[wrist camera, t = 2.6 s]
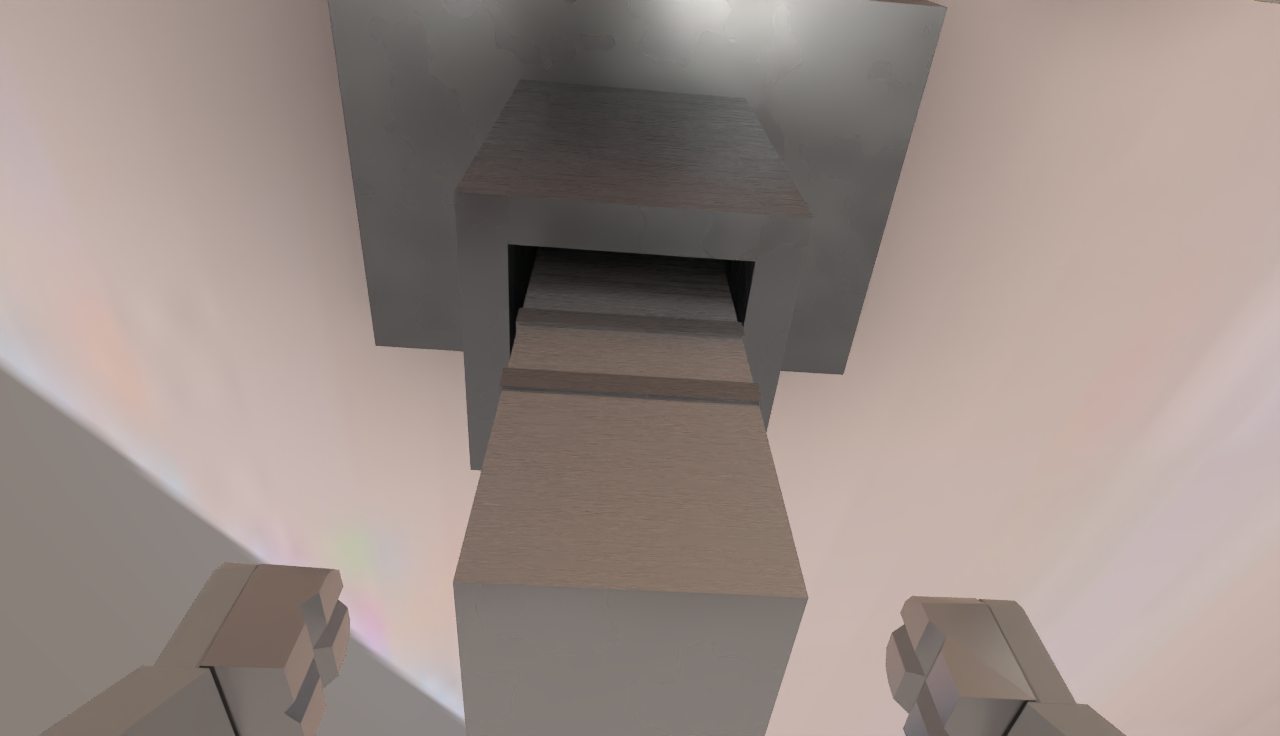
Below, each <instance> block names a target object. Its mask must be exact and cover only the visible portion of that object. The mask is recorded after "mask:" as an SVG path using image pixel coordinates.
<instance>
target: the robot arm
mask: <svg viewBox="0 0 1280 736" xmlns="http://www.w3.org/2000/svg"><path fill="white" fill-rule="evenodd" d="M342 588H343V583H342V580H341V576H340V572H339V570H335V569H325V568H312V567H298V566H285V565H271V564H254V563H238V562H237V563H236V562H224V563H223V564H221V565H220V566H219V567H218V568H217V569H215V570H214V571H213V573H212V574H211V576H210V577H209V579H208V580H207V582H206V584H205V585H204V587H203V588H202V590H201V591H200V593H199V595H198V596H197V598H196V599H195V601H194V602H193V604H192V606H191V607H190V609H189V610H188V612H187V614H186V615H185V617H184V618H183V620H182V621H181V623H180V625H179V626H178V628H177V629H176V631H175V633H174V634H173V636H172V637H171V639H170V640H169V642H168V644H167V645H166V647H165V648H164V650H163V652H162V653H161V655H160V656H159V658H158V659H157V661H156V662H155V664H154V665H152V666H151V665H142V666H140V667H139V668H137V669H136V670H134V671H133V672H131V673H130V674H128V675H127V676H125V677H124V678H122V679H121V680H120V681H118V682H116V683H115V684H114V685H112V686H111V687H109V688H108V689H106V690H105V691H103V692H102V693H100V694H99V695H97V696H96V697H94V698H93V699H91V700H90V701H88V702H87V703H85V704H84V705H82V706H81V707H80V708H78V709H77V710H75V711H74V712H72V713H71V714H69V715H68V716H66V717H65V718H63V719H62V720H60V721H59V722H58V723H56V724H54V725H53V726H51V727H50V728H48V729H47V730H46V731H44V732H42V733H41V734H39V735H38V736H316V733H317V731H318V728H319V726H320V723H321V720H322V718H323V715H324V712H325V710H326V707H327V703H326V699H325V695H324V691H323V688H324V687H326V686H327V685H328V684H329V683H330V682H332V681H333V680H334V679H335V678H336V677H338V676H339V673H340V670H341V668H342V665H343V662H344V659H345V656H346V651H347V646H348V641H349V636H350V618H349V612H348V608H347V607H346V606H345V605H344V604H343V603H342V602H340V601H339V600H338V598H339V595H340V593H341V590H342ZM900 613H901V616H902V619H903V621H904V625H903V626H901V627H900V628H898V629H897V630H895V631H894V632H892V634H891V637H890V640H889V642H888V645H887V648H886V671H887V677H888V683H889V686H890V689H891V692H892V696H893V699H894V700H895V701H896V702H897V703H899V704H900V705H901V706H902V707H903V708H904V709H905V710H906V711H907V712H908V713H909V715H908V717H907V720H906V722H905V725H904V728H903V729H904V732H905V735H906V736H1126V735H1125V734H1123V733H1122V732H1121V731H1120V730H1118V729H1117V728H1116V727H1115V726H1113V725H1112V724H1111V723H1110V722H1108V721H1107V720H1106V719H1105V718H1103V717H1102V716H1101V715H1100V714H1098V713H1097V712H1096V711H1095V710H1094V709H1092V708H1091V707H1090V706H1089V705H1087V704H1077V703H1076V701H1075V700H1074V698H1073V696H1072V694H1071V693H1070V691H1069V689H1068V687H1067V685H1066V684H1065V682H1064V680H1063V678H1062V677H1061V675H1060V673H1059V671H1058V670H1057V668H1056V666H1055V664H1054V662H1053V661H1052V659H1051V657H1050V655H1049V654H1048V652H1047V650H1046V648H1045V647H1044V645H1043V643H1042V641H1041V639H1040V638H1039V636H1038V634H1037V632H1036V631H1035V629H1034V627H1033V625H1032V624H1031V622H1030V620H1029V618H1028V616H1027V615H1026V613H1025V611H1024V609H1023V608H1022V607H1021V606H1020V605H1019V604H1018V603H1017V602H1016V601H1008V600H987V599H979V600H978V599H975V598H952V597H923V596H911V597H910V598H909V599H908V600H906V601H905V603H904V606H903V608H902V610H901V612H900Z"/></svg>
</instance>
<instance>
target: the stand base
mask: <svg viewBox="0 0 1280 736" xmlns="http://www.w3.org/2000/svg"><path fill="white" fill-rule="evenodd" d="M328 4H329V11H330V19H331V26H332V33H333V40H334V48H335V55H336V62H337V69H338V77H339V84H340V91H341V98H342V106H343V113H344V120H345V127H346V134H347V142H348V149H349V156H350V163H351V171H352V178H353V185H354V192H355V200H356V207H357V214H358V221H359V229H360V236H361V243H362V250H363V257H364V265H365V272H366V279H367V286H368V294H369V301H370V308H371V315H372V323H373V330H374V337H375V344H376V346H389V347H405V348H421V349H437V350H453V351H464V366H465V382H466V399H467V415H468V432H469V448H470V465H471V470H482V466H483V462H484V458H485V455H486V451H487V447H488V443H489V439H490V435H491V431H492V427H493V423H494V419H495V415H496V411H497V407H498V404H499V384H500V380H501V376H502V372H503V368H508V364H509V360H510V356H511V353H512V349H513V345H514V341H515V337H516V319H517V315H518V312H519V308H523V306H524V302H525V298H526V294H527V290H528V286H529V282H530V278H531V274H532V270H533V266H534V262H535V258H536V255H537V251H538V247H539V246H541V247H556V248H570V249H584V250H598V251H612V252H627V253H641V254H655V255H669V256H683V257H698V258H712V259H722V262H723V266H724V270H725V274H726V278H727V282H728V285H729V289H730V293H731V297H732V301H733V305H734V309H735V313H736V317H737V321H738V322H742V326H743V330H744V333H745V339H744V348H745V352H746V356H747V360H748V364H749V368H750V371H751V375H752V379H753V383H758V386H759V390H760V394H761V398H762V405H761V410H760V411H761V414H762V418H763V422H764V426H765V430H766V432H767V427H768V423H769V418H770V414H771V409H772V405H773V401H774V396H775V392H776V387H777V383H778V378H779V374H780V371H793V372H809V373H825V374H841V375H843V373H844V370H845V366H846V362H847V359H848V355H849V352H850V348H851V345H852V341H853V338H854V334H855V331H856V327H857V324H858V320H859V317H860V313H861V310H862V306H863V303H864V299H865V296H866V292H867V289H868V285H869V281H870V278H871V274H872V271H873V267H874V264H875V260H876V257H877V253H878V250H879V246H880V243H881V239H882V236H883V232H884V229H885V225H886V222H887V218H888V215H889V211H890V207H891V204H892V200H893V197H894V193H895V190H896V186H897V183H898V179H899V176H900V172H901V169H902V165H903V162H904V158H905V155H906V151H907V148H908V144H909V141H910V137H911V134H912V130H913V126H914V123H915V119H916V116H917V112H918V109H919V105H920V102H921V98H922V95H923V91H924V88H925V84H926V81H927V77H928V74H929V70H930V67H931V63H932V60H933V56H934V52H935V49H936V45H937V42H938V38H939V35H940V31H941V28H942V24H943V21H944V17H945V14H946V10H947V7H944V6H942V5H939V4H936V3H933V2H930V1H928V0H328Z"/></svg>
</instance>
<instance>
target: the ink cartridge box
mask: <svg viewBox="0 0 1280 736" xmlns="http://www.w3.org/2000/svg"><path fill="white" fill-rule="evenodd" d="M1256 1H1260V2H1270V3H1278V4H1280V0H1256Z"/></svg>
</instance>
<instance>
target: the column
mask: <svg viewBox="0 0 1280 736" xmlns="http://www.w3.org/2000/svg"><path fill="white" fill-rule="evenodd" d="M744 339H745V333H744V330H743V326H742V322H738V321H737V317H736V313H735V309H734V305H733V301H732V297H731V293H730V289H729V285H728V282H727V278H726V274H725V270H724V266H723V262H722V259H712V258H698V257H683V256H669V255H655V254H641V253H627V252H612V251H598V250H584V249H570V248H556V247H541V246H539V247H538V251H537V255H536V258H535V262H534V266H533V270H532V274H531V278H530V282H529V286H528V290H527V294H526V298H525V302H524V306H523V308H519V312H518V315H517V319H516V337H515V341H514V345H513V349H512V353H511V356H510V360H509V364H508V368H503V372H502V376H501V380H500V384H499V404H498V407H497V411H496V415H495V419H494V423H493V427H492V431H491V435H490V439H489V443H488V447H487V451H486V455H485V458H484V462H483V466H482V470H481V474H480V478H479V482H478V486H477V490H476V494H475V498H474V502H473V505H472V509H471V513H470V517H469V521H468V525H467V529H466V533H465V537H464V541H463V545H462V549H461V553H460V556H459V560H458V564H457V568H456V572H455V576H454V580H453V587H454V599H455V610H456V622H457V633H458V644H459V656H460V667H461V678H462V690H463V701H464V712H465V724H466V735H467V736H765V733H766V730H767V727H768V723H769V720H770V717H771V714H772V711H773V708H774V704H775V701H776V698H777V695H778V692H779V689H780V685H781V682H782V679H783V676H784V673H785V670H786V666H787V663H788V660H789V657H790V654H791V651H792V648H793V644H794V641H795V638H796V635H797V632H798V629H799V625H800V622H801V619H802V616H803V613H804V610H805V606H806V603H807V600H808V594H807V591H806V587H805V583H804V579H803V575H802V571H801V567H800V563H799V559H798V555H797V551H796V547H795V544H794V540H793V536H792V532H791V528H790V524H789V520H788V516H787V512H786V508H785V504H784V501H783V497H782V493H781V489H780V485H779V481H778V477H777V473H776V469H775V465H774V461H773V458H772V454H771V450H770V446H769V442H768V438H767V434H766V430H765V426H764V422H763V418H762V414H761V411H760V410H761V405H762V398H761V394H760V390H759V386H758V383H753V379H752V375H751V371H750V368H749V364H748V360H747V356H746V352H745V348H744Z"/></svg>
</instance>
